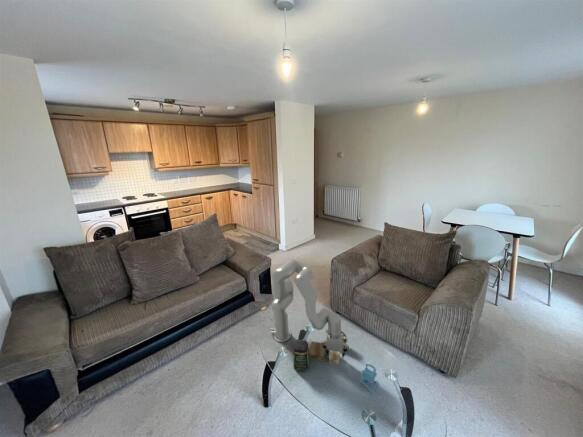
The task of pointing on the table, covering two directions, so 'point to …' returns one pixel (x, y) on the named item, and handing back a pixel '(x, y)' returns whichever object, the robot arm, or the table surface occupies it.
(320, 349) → the pedestal
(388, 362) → the table surface
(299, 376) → the table surface
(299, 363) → the coffee jar
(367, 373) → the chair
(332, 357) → the beech cube
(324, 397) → the table surface
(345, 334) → the food container
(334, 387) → the table surface
